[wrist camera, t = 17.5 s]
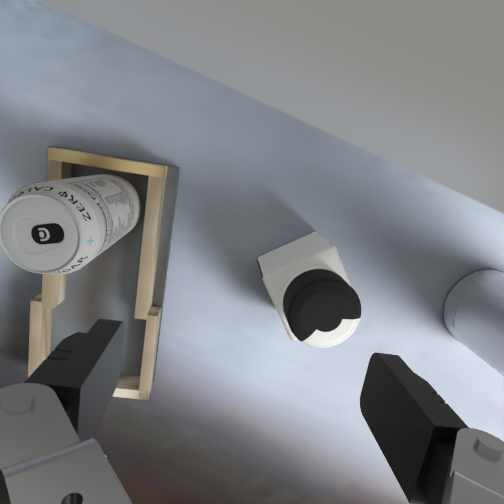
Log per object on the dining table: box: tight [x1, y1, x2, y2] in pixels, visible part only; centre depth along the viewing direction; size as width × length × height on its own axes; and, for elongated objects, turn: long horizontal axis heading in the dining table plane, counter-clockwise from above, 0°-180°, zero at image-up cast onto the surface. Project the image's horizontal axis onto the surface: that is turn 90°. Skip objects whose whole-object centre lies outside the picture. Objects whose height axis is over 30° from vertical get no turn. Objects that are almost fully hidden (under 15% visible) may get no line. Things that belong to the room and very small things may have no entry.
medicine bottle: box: [257, 232, 361, 348], centre depth 35 cm, size 7×7×12 cm
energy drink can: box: [0, 174, 142, 275], centre depth 30 cm, size 6×6×15 cm
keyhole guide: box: [28, 146, 179, 400], centre depth 38 cm, size 12×24×4 cm, turn 170°
